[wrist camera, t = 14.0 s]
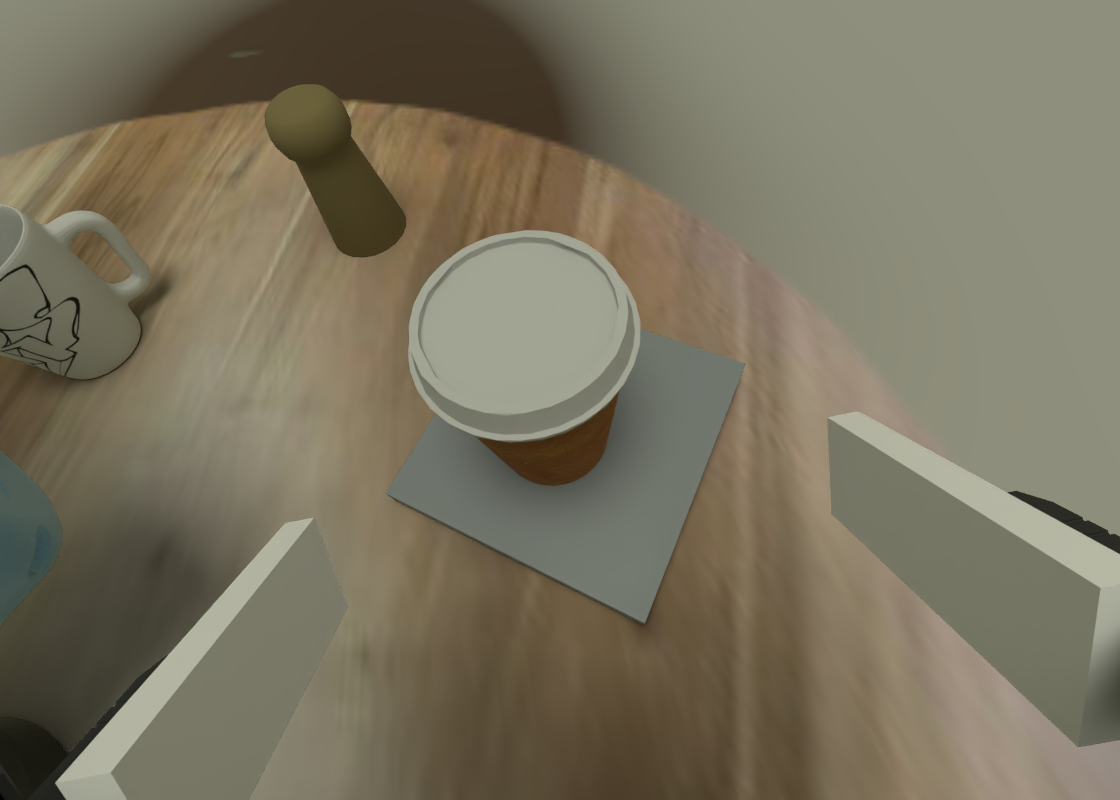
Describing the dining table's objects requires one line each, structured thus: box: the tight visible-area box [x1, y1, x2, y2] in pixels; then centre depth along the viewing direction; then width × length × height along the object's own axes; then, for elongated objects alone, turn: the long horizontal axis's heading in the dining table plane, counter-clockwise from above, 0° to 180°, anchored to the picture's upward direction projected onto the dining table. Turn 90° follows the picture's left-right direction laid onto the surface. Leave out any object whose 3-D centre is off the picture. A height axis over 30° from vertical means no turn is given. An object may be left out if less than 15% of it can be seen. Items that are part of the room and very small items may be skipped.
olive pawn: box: [265, 84, 406, 257], centre depth 38 cm, size 6×6×11 cm
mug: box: [0, 204, 152, 379], centre depth 36 cm, size 11×8×10 cm
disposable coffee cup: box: [408, 230, 640, 486], centre depth 26 cm, size 10×10×12 cm
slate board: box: [386, 329, 745, 625], centre depth 32 cm, size 16×16×2 cm
